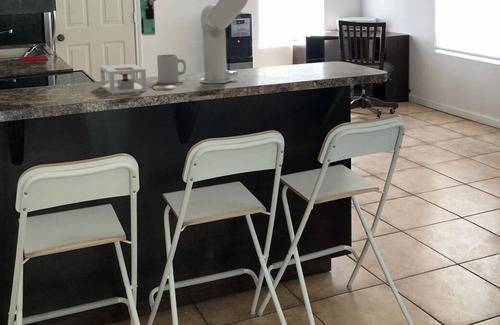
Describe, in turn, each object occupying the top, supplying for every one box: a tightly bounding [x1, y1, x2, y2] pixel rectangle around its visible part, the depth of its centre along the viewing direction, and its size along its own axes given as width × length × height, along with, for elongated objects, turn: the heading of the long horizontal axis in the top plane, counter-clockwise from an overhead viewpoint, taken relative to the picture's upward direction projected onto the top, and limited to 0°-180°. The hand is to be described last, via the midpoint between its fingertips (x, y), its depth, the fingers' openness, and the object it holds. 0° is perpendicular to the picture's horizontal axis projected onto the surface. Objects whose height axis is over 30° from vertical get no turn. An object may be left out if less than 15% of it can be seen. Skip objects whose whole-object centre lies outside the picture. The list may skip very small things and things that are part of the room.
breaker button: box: [118, 73, 131, 81], centre depth 272 cm, size 5×5×4 cm
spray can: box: [139, 0, 156, 36], centre depth 275 cm, size 6×6×20 cm
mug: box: [156, 54, 187, 84], centre depth 292 cm, size 12×8×11 cm
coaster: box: [152, 84, 177, 91], centre depth 277 cm, size 9×9×1 cm
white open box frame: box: [99, 63, 148, 95], centre depth 276 cm, size 14×18×8 cm
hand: (147, 18), depth 276 cm, fingers closed on spray can, 5 cm apart
